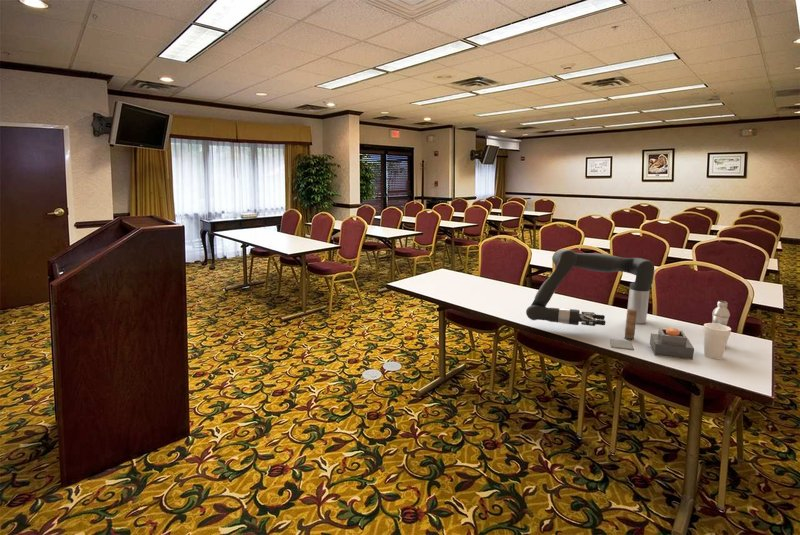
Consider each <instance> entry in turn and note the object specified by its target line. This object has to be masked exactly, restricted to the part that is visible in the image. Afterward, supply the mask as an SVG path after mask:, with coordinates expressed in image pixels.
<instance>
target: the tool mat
mask: <svg viewBox="0 0 800 535" xmlns="http://www.w3.org/2000/svg"><path fill="white" fill-rule="evenodd" d="M609 342H610V346H611V348H613V349H621V350H628V351H630V350H632V351H634V350H635V346H634V345H633V340H627V339H624V340H623V339H617V338H609Z"/></svg>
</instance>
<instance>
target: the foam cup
mask: <svg viewBox="0 0 800 535" xmlns="http://www.w3.org/2000/svg"><path fill="white" fill-rule="evenodd" d="M702 328H703V329H702V331H703V355H704V356H705V357H707V356H708V357H707V358H710V357H711V359H714V358H716V359H717V358H719V359H717V360H721V359H723V357H724V353H725V351H726V350H725V349H726V347H727V344H728V340H729V337H730V336H731V331H732V328H731V327H730V326H725V325H721V324H715V323H712V322H708V323H704V324H703V327H702ZM716 359H715V360H716Z"/></svg>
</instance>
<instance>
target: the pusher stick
mask: <svg viewBox="0 0 800 535" xmlns="http://www.w3.org/2000/svg"><path fill="white" fill-rule="evenodd" d="M636 316H637V310H635V309H628V308H627V310H626V321H625V327H624V328H625V329H624V340H626V341H634V340H635V332H636V326H637V323H636Z"/></svg>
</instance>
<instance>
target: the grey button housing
mask: <svg viewBox="0 0 800 535" xmlns="http://www.w3.org/2000/svg"><path fill="white" fill-rule="evenodd" d="M666 329H667V328H658V333H653V332H651V333H650V336H649V337H650V339H649V345H651V346H650V348H651V351H652V353H653V355H654V356H657V355H658V356H659V357H665V356H666V357H667V358H675V359H681V360H692V361H693V360H694V353H695V348H694V346H693V345H692V343H691V342H690V340H689V338H688V337H687V335H686V334H685V332H684V331H683V330H679V331H680V333H679V336H673V335H666Z"/></svg>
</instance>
